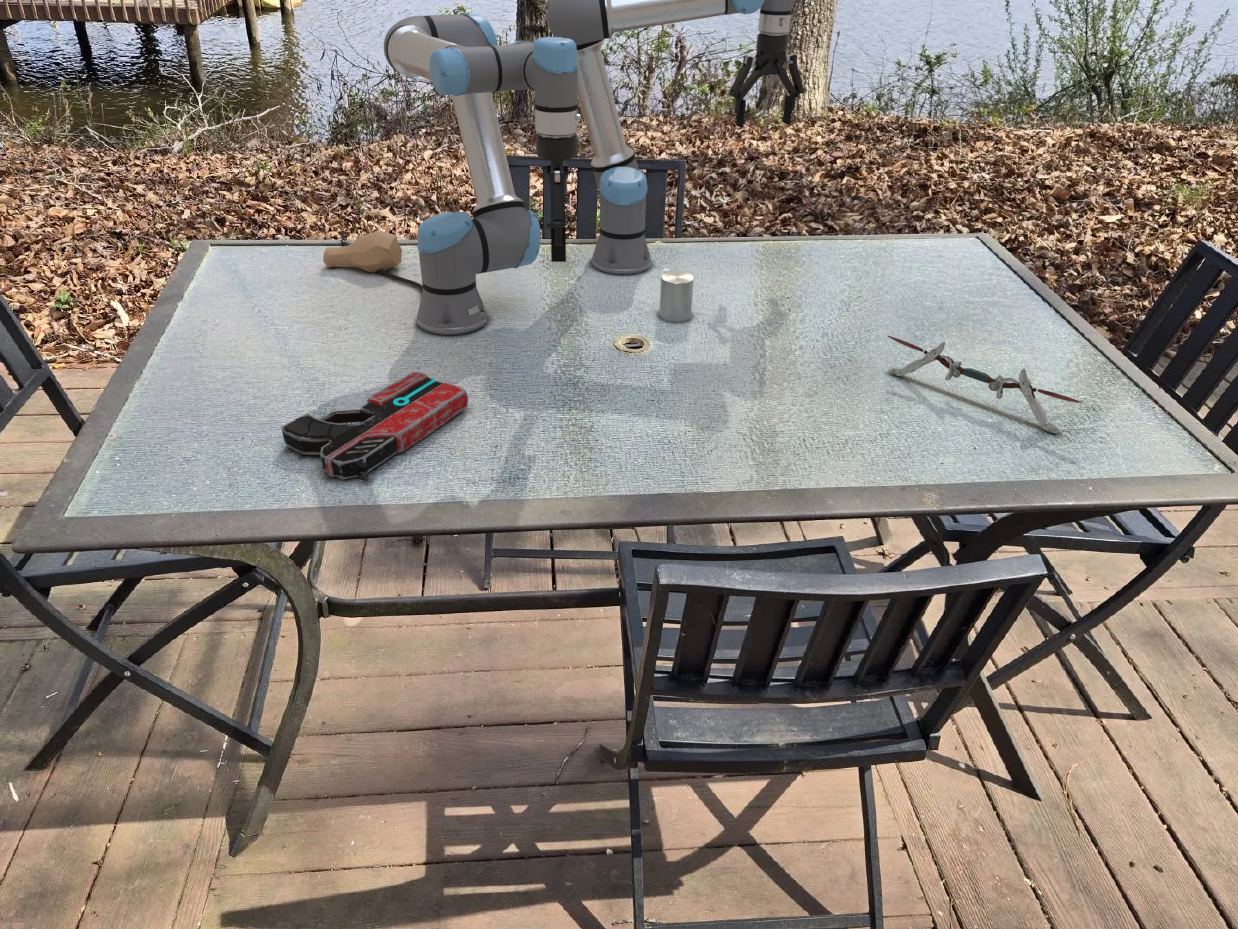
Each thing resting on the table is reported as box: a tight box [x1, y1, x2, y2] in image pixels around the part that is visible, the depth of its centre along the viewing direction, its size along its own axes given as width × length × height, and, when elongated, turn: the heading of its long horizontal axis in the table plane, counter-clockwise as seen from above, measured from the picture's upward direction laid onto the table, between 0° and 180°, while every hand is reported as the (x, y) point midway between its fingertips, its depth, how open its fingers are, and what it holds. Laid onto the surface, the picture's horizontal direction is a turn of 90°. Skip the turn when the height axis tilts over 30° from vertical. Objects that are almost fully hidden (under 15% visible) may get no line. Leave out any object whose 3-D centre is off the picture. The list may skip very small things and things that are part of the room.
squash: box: [322, 230, 403, 273], centre depth 220 cm, size 11×20×9 cm, turn 90°
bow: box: [887, 335, 1083, 434], centre depth 169 cm, size 39×2×10 cm, turn 47°
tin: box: [658, 270, 695, 323], centre depth 200 cm, size 7×7×9 cm
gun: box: [280, 371, 469, 481], centre depth 156 cm, size 4×31×19 cm
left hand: (558, 248), depth 169 cm, fingers open, 13 cm apart
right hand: (763, 124), depth 224 cm, fingers open, 13 cm apart
